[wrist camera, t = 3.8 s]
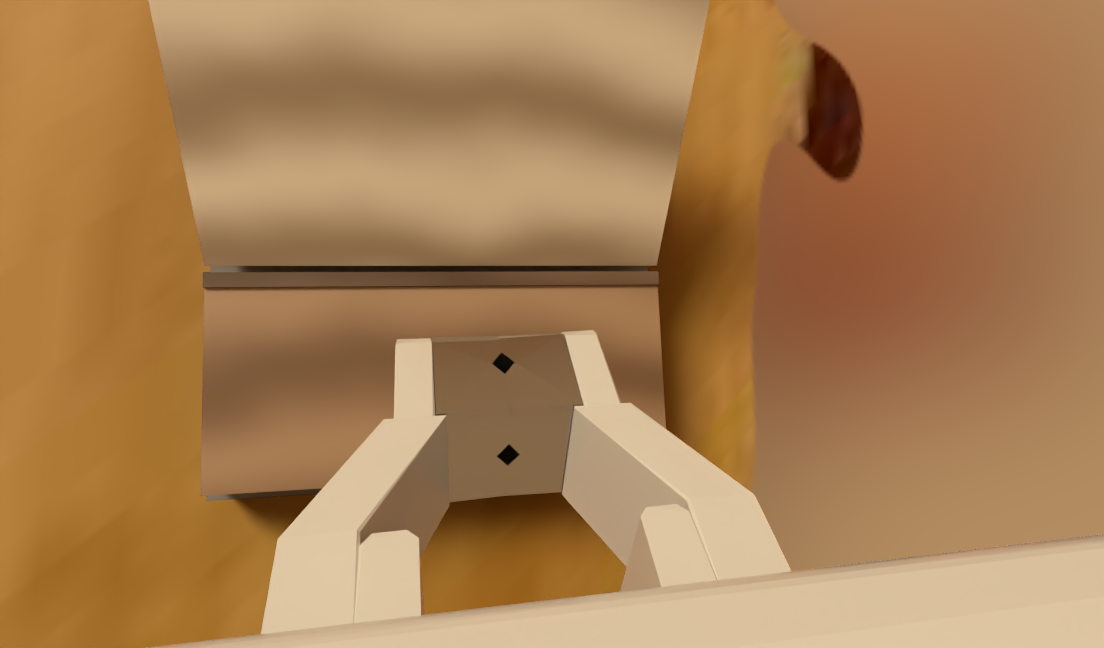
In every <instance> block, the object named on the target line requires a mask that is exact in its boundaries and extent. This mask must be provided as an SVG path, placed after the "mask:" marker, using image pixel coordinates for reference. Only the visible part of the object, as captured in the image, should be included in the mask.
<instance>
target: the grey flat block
mask: <svg viewBox="0 0 1104 648" xmlns="http://www.w3.org/2000/svg"><path fill="white" fill-rule="evenodd" d="M658 285H659V271H648V266H210V272H203V288H204V335H203V391H202V447H201V496H207V500H206V501H214V500H230V499H245V498H261V497H277V496H292V495H308V494H318V493H319V492H320V491H321V490H322V488H323V487H324V486H325V485H326V484H327V483H328V482H329V480H330V479H331V478H332V477H333V476H334V475H335V474H336V473H337V471H338V470H339V469H340V468H341V467H342V466H343V465H344V463H345V462H346V461H347V460H348V459H349V458H350V457H351V456H352V454H353V453H354V452H355V451H356V450H357V449H358V448H359V446H360V445H361V444H362V443H363V442H364V441H365V440H366V439H367V437H368V436H369V435H370V434H371V433H372V432H373V431H374V429H375V428H376V427H377V426H378V425H379V424H380V423H381V422H382V420H383V419H394V386H395V345H396V342H397V339H421V338H430V339H431V341H432V338H440V337H480V336H512V335H531V334H549V333H562V332H570V331H584V330H594V331H595V332H596V333H597V335H598V338H599V341H600V344H601V346H602V349H603V352H604V355H605V358H606V361H607V364H608V366H609V369H610V372H611V375H612V378H613V381H614V383H615V386H616V389H617V392H618V395H619V398H620V401H621V403H632V404H633V405H635V406H636V407H637V408H639V409H640V410H641V411H643V412H644V413H645V414H647V415H648V416H649V417H651V418H652V419H653V420H655V421H656V422H657V423H659V424H660V425H661V426H663V427H664V428H665V429H666V419H665V402H664V385H663V367H662V350H661V333H660V316H659V298H658ZM432 358H433V349H432ZM433 377H434V372H433Z"/></svg>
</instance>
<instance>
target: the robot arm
mask: <svg viewBox="0 0 1104 648" xmlns="http://www.w3.org/2000/svg"><path fill="white" fill-rule="evenodd" d="M432 349H433V358H432ZM433 372H434V377H433ZM557 492H562V495H563V496H564V498H565V499H566V500H567V501H568V502H569V503H570V504H571V505H572V506H573V508H574V509H575V510H576V511H577V512H578V513H579V514H580V515H581V517H582V518H583V519H584V520H585V521H586V522H587V523H588V524H589V525H590V527H591V528H592V529H593V530H594V531H595V532H596V533H597V534H598V535H599V537H600V538H601V539H602V540H603V541H604V542H605V543H606V544H607V546H608V547H609V548H610V549H611V550H612V551H613V552H614V553H615V554H616V556H617V557H618V558H619V559H620V560H621V561H622V562H623V563H624V565H625V566H626V567H627V568H626V572H625V576H624V579H623V583H622V587H621V591H620V592H614V593H606V594H597V595H589V596H580V597H572V598H563V599H555V600H546V601H538V602H529V603H521V604H512V605H504V606H495V607H487V608H478V609H470V610H461V611H453V612H444V613H436V614H427V615H425V612H424V599H423V586H422V573H421V560H420V556H421V555H422V553H423V551H424V549H425V548H426V546H427V544H428V542H429V541H430V539H431V537H432V535H433V534H434V532H435V530H436V528H437V527H438V525H439V523H440V521H441V520H442V518H443V516H444V514H445V513H446V511H447V509H448V507H449V502H456V501H465V500H473V499H482V498H490V497H499V496H509V495H525V494H541V493H557ZM149 648H1104V534H1102V535H1094V536H1085V537H1077V538H1068V539H1060V540H1051V541H1043V542H1034V543H1026V544H1017V545H1009V546H1000V547H992V548H984V549H975V550H967V551H958V552H950V553H941V554H933V555H924V556H916V557H908V558H900V559H891V560H883V561H874V562H865V563H857V564H848V565H840V566H832V567H823V568H814V569H806V570H798V571H791V569H790V568H789V565H788V563H787V561H786V560H785V557H784V555H783V553H782V551H781V549H780V547H779V545H778V543H777V541H776V538H775V536H774V534H773V532H772V530H771V528H770V526H769V524H768V522H767V520H766V518H765V516H764V514H763V512H762V510H761V508H760V506H759V504H758V501H757V500H756V497H755V495H754V494H753V493H751V492H750V491H749V490H747V489H746V488H745V487H743V486H742V485H741V484H739V483H738V482H736V481H735V480H734V479H732V478H731V477H730V476H728V475H727V474H726V473H724V472H723V471H722V470H720V469H719V468H718V467H716V466H715V465H714V464H712V463H711V462H710V461H708V460H707V459H706V458H704V457H703V456H702V455H700V454H699V453H698V452H696V451H695V450H694V449H692V448H691V447H690V446H688V445H687V444H686V443H684V442H683V441H681V440H680V439H679V438H677V437H676V436H675V435H673V434H672V433H671V432H669V431H668V430H667V429H665V428H664V427H663V426H661V425H660V424H659V423H657V422H656V421H655V420H653V419H652V418H651V417H649V416H648V415H647V414H645V413H644V412H643V411H641V410H640V409H639V408H637V407H636V406H635V405H633V404H632V403H621V401H620V398H619V395H618V392H617V389H616V386H615V383H614V381H613V378H612V375H611V372H610V369H609V366H608V364H607V361H606V358H605V355H604V352H603V349H602V346H601V344H600V341H599V338H598V335H597V333H596V332H595V331H594V330H584V331H570V332H562V333H549V334H531V335H512V336H480V337H440V338H432V341H431V339H430V338H421V339H397V342H396V345H395V386H394V419H383V420H382V422H381V423H380V424H379V425H378V426H377V427H376V428H375V429H374V431H373V432H372V433H371V434H370V435H369V436H368V437H367V439H366V440H365V441H364V442H363V443H362V444H361V445H360V446H359V448H358V449H357V450H356V451H355V452H354V453H353V454H352V456H351V457H350V458H349V459H348V460H347V461H346V462H345V463H344V465H343V466H342V467H341V468H340V469H339V470H338V471H337V473H336V474H335V475H334V476H333V477H332V478H331V479H330V480H329V482H328V483H327V484H326V485H325V486H324V487H323V488H322V490H321V491H320V492H319V493H318V494H317V495H316V496H315V497H314V499H313V500H312V501H311V502H310V503H309V504H308V505H307V507H306V508H305V509H304V510H303V511H302V512H301V513H300V514H299V516H298V517H297V518H296V519H295V520H294V521H293V522H292V524H291V525H290V526H289V527H288V528H287V529H286V530H285V531H284V533H283V534H282V535H281V536H280V537H279V538H278V541H277V546H276V552H275V558H274V563H273V569H272V575H271V580H270V586H269V592H268V597H267V603H266V608H265V614H264V620H263V625H262V631H261V634H259V635H250V636H242V637H233V638H225V639H216V640H208V641H199V642H191V643H183V644H174V645H166V646H157V647H149Z"/></svg>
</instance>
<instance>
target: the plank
mask: <svg viewBox="0 0 1104 648" xmlns="http://www.w3.org/2000/svg"><path fill="white" fill-rule="evenodd" d="M148 1H149V6H150V10H151V15H152V20H153V24H154V29H155V34H156V39H157V43H158V48H159V53H160V57H161V62H162V67H163V71H164V76H165V81H166V86H167V90H168V95H169V100H170V104H171V109H172V114H173V119H174V123H175V128H176V133H177V137H178V142H179V147H180V152H181V156H182V161H183V166H184V170H185V175H186V180H187V185H188V189H189V194H190V199H191V203H192V208H193V213H194V218H195V222H196V227H197V232H198V236H199V241H200V246H201V251H202V255H203V260H204V265H205V266H657V261H658V256H659V251H660V246H661V241H662V236H663V231H664V226H665V221H666V216H667V211H668V206H669V201H670V196H671V191H672V186H673V182H674V177H675V172H676V167H677V162H678V157H679V152H680V147H681V142H682V137H683V132H684V127H685V122H686V117H687V112H688V107H689V102H690V97H691V92H692V87H693V82H694V77H695V72H696V67H697V62H698V57H699V52H700V47H701V42H702V37H703V32H704V27H705V22H706V17H707V12H708V7H709V2H710V0H148Z"/></svg>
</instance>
